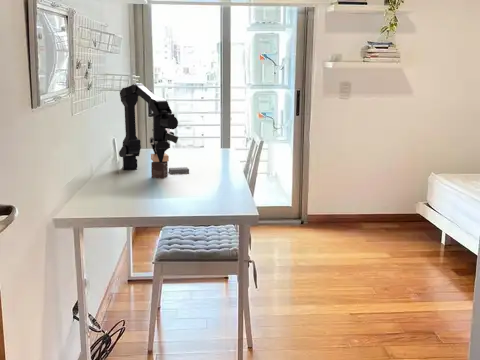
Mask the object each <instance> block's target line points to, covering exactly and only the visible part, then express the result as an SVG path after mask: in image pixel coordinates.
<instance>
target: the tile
mask: <svg viewBox="0 0 480 360" xmlns="http://www.w3.org/2000/svg"><path fill="white" fill-rule="evenodd" d="M169 157H170V155H168V154H167V153H166V152H165V153H164V157H163V161H168V162H169V159H170V158H169ZM150 160H151V161H152V162H159V159H158V156H157V154H155V153H150Z"/></svg>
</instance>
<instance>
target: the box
mask: <svg viewBox="0 0 480 360" xmlns="http://www.w3.org/2000/svg"><path fill="white" fill-rule="evenodd" d="M168 163H169V161H162V162H153V161H152V162H151V163H150V164H151V178H152V179H166V178H167V177H168V176H169V168H168V167H169V166H168Z"/></svg>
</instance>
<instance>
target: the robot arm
mask: <svg viewBox="0 0 480 360" xmlns="http://www.w3.org/2000/svg"><path fill="white" fill-rule="evenodd" d="M119 96H120V102H121V103H122V105H123V107H124V122H125V123H124V125H125V126H124V128H125V129H124V130H125V136H124V139H123V141H122V147H121V148H120V150H119V152H118V155H119V157H121V158H122V166H121V167H122V170H124V171H125V170H126V171H127V170H138V159H137V157H140V153H141V148H142V146H141V142H142V141H141V139H139V138H138V137H137V126H136V124H137V123H136V105H137V103H138V102H139V97H141V98H142V100H144V101H145V102H146V103H147V104H148V108H149V109H150V110H151V112H152V113H151V114H150V117H152V134H153V135H152V136H151V137H150V138H149V143H150V145H151V148H152V150H153V154H157V156H158V159H159V162H162V161H163V157H164V153H166V152H167V150H169V149H170V148H171V144H170V142H173V143H174V144H177V142H178V140H179V136H178V135H175V132H173V131H170V132H168V130H176V129H177V127H178V125H179V120H178V118H177V117H176V116H175V113H173V111H172V110H171V107H170V105H169V102H168V100H166V99H165V98H163V97H160V96H156V94H155V93H153V92H151V90H150V89H148V88H147V87H146V86H145V85H144V83H134V84H131V85H129V86H125V87H122V88H121V89H120V91H119ZM167 129H168V130H167Z"/></svg>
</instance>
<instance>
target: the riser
mask: <svg viewBox="0 0 480 360" xmlns="http://www.w3.org/2000/svg"><path fill="white" fill-rule="evenodd" d="M189 173H190V168H188V167H187V166H186V167H185V166H184V167H182V166H181V167H169V168H168V174H171V175H175V174H176V175H177V174H179V175H181V174H189Z"/></svg>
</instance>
